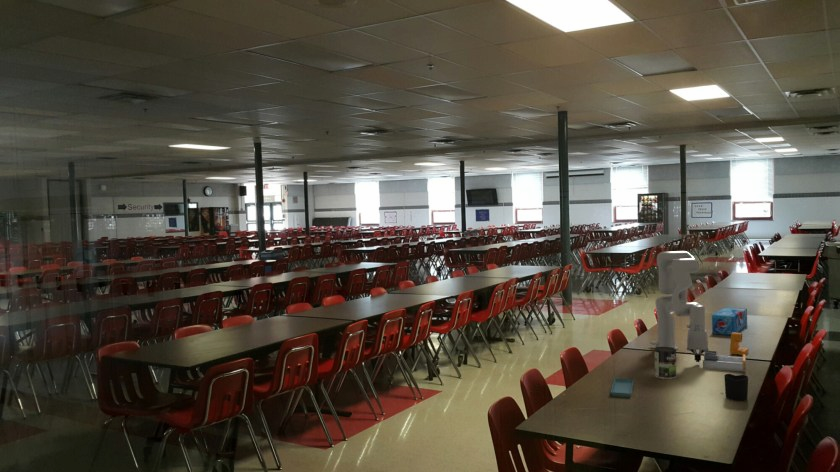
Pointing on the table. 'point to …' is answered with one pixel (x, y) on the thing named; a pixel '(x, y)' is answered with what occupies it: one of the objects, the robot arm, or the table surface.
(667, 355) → the coffee can
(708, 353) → the lock block
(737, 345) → the bracket
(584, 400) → the table surface
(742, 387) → the pen holder
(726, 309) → the soda box
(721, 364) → the coupler channel
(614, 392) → the shallow long dish
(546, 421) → the table surface
